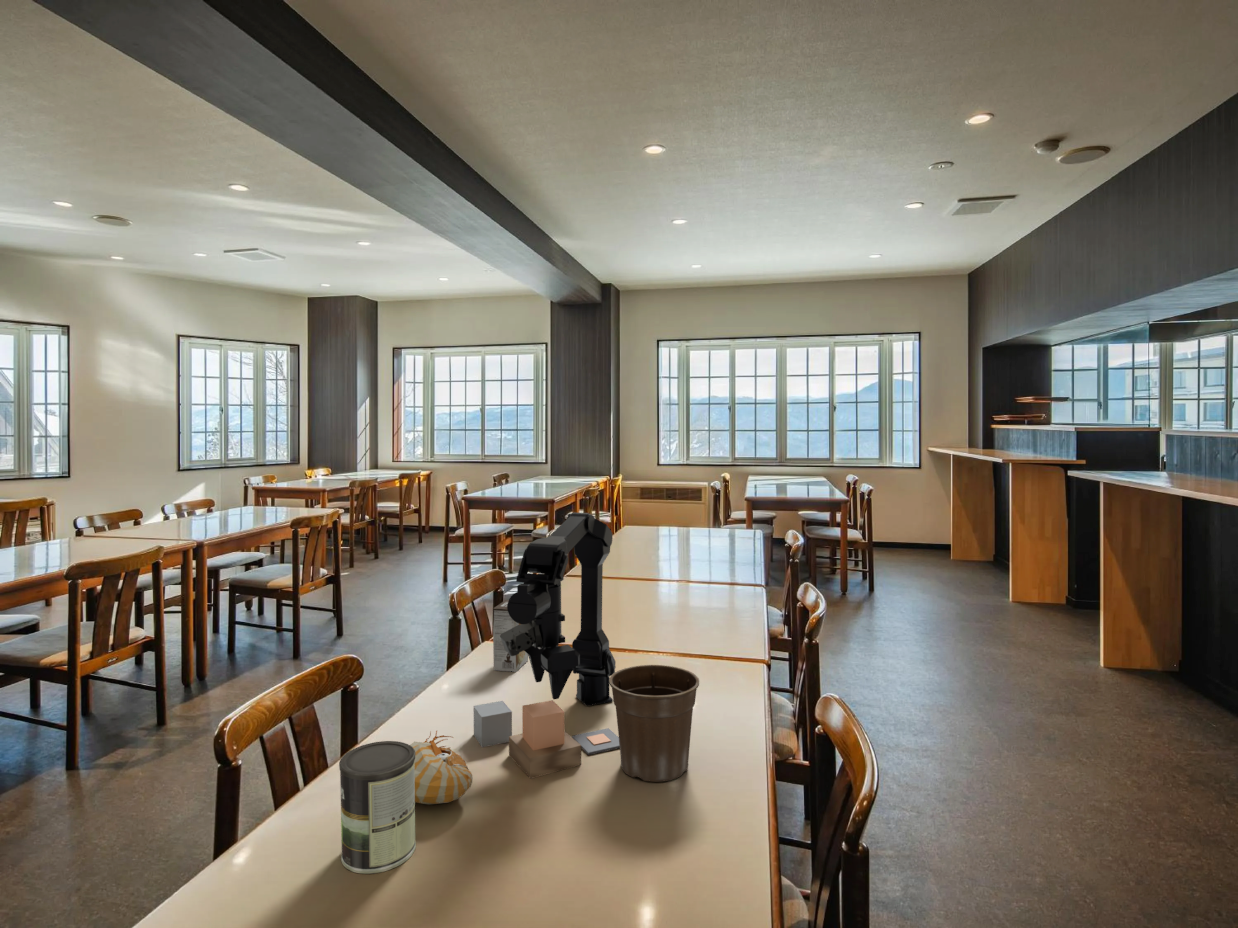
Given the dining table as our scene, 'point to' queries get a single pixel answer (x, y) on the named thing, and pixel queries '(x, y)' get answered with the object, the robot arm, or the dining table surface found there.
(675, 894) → the dining table surface
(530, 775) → the tan block
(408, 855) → the coffee can
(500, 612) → the coffee box
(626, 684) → the plant pot
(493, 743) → the slate grey cube
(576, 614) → the dining table surface
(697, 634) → the dining table surface
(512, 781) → the dining table surface
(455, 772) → the nautilus
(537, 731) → the terracotta cube
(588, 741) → the card
